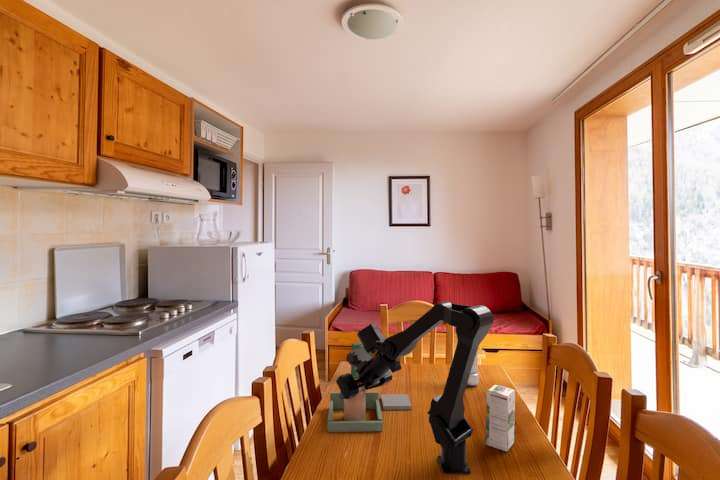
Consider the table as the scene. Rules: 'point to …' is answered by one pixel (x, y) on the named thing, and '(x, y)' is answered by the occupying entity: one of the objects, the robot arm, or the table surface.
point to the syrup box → (500, 417)
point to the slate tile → (396, 402)
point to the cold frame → (355, 426)
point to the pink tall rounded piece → (356, 407)
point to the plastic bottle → (474, 373)
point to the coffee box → (353, 368)
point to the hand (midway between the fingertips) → (351, 393)
